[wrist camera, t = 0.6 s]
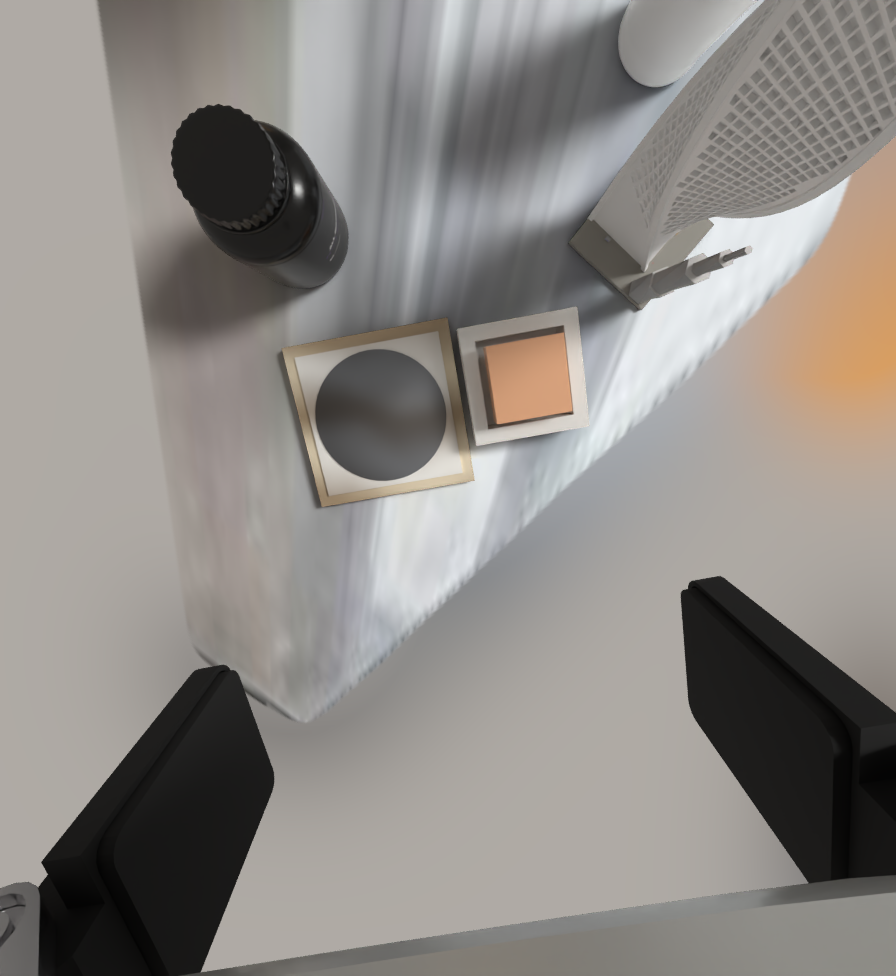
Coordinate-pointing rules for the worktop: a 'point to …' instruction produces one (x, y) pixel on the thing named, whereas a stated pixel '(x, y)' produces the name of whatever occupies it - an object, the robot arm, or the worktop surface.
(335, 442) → the cream square coaster
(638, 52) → the drinking glass
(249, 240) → the supplement bottle
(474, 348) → the button housing
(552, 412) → the button
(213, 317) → the worktop surface
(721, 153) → the skyscraper
